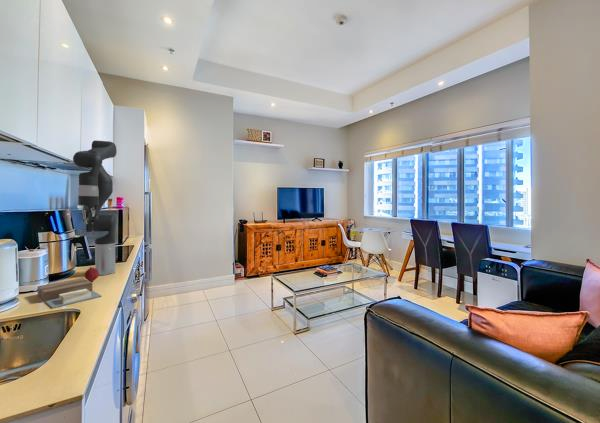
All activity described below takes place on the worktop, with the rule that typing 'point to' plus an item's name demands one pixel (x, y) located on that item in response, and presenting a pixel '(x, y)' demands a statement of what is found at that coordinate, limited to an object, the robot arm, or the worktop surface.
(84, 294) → the tile
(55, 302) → the mat
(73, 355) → the worktop surface
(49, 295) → the deck
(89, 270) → the onion
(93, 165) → the robot arm
